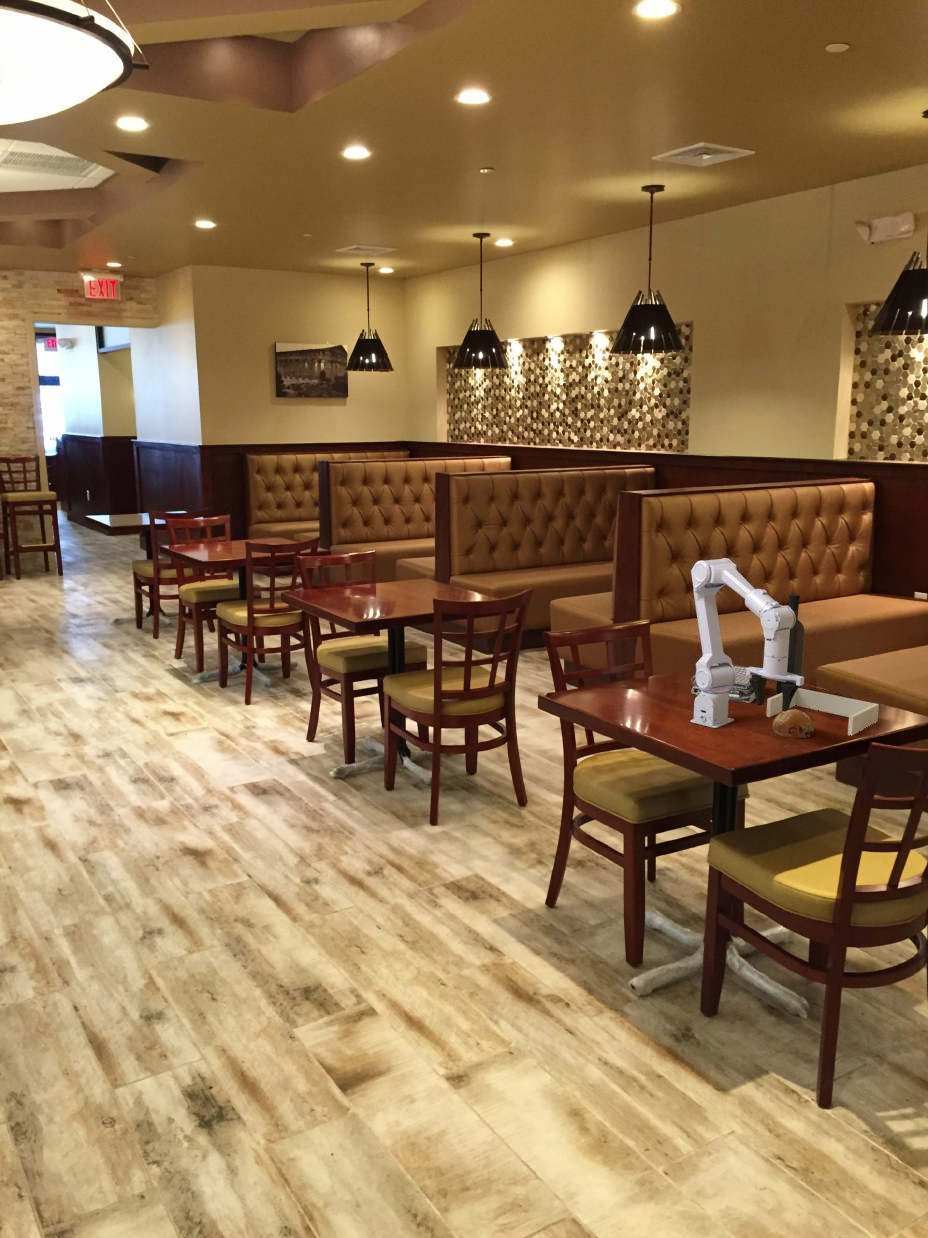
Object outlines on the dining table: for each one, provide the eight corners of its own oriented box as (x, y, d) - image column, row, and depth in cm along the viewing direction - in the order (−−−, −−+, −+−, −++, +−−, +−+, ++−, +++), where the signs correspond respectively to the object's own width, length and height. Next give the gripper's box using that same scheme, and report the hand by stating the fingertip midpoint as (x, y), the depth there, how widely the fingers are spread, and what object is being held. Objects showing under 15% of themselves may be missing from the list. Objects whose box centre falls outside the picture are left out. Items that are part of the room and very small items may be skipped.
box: (851, 735, 256) (852, 717, 255) (766, 716, 273) (767, 698, 272) (877, 722, 268) (878, 704, 266) (794, 704, 284) (795, 687, 283)
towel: (707, 684, 306) (708, 659, 304) (766, 693, 296) (768, 668, 295) (689, 696, 294) (690, 670, 292) (750, 706, 284) (752, 679, 282)
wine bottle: (774, 694, 294) (780, 594, 288) (785, 690, 298) (792, 592, 292) (790, 698, 290) (796, 597, 284) (802, 695, 293) (808, 595, 287)
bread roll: (803, 741, 264) (798, 711, 266) (824, 736, 254) (818, 705, 256) (769, 743, 262) (764, 713, 264) (788, 739, 252) (783, 707, 254)
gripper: (811, 657, 244) (807, 710, 247) (757, 647, 254) (754, 698, 257) (797, 662, 239) (794, 716, 242) (743, 652, 249) (740, 704, 252)
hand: (772, 707), depth 249 cm, fingers open, 6 cm apart
